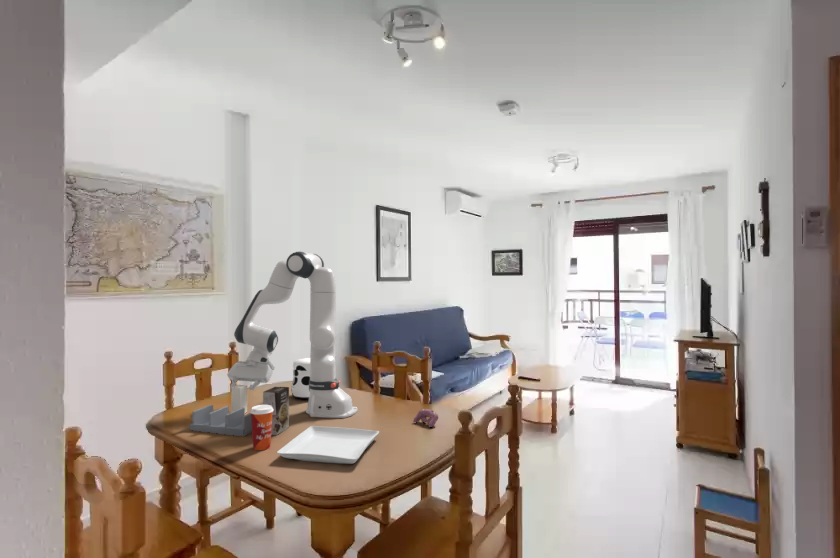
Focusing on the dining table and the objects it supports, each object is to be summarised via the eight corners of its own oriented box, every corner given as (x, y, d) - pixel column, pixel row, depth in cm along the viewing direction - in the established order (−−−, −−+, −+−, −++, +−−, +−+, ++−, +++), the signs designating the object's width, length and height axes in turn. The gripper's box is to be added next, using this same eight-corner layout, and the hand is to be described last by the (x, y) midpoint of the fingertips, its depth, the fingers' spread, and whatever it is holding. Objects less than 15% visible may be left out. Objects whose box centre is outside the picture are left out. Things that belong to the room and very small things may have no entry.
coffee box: (277, 435, 165) (277, 392, 165) (262, 434, 166) (262, 391, 166) (289, 427, 174) (289, 386, 174) (274, 426, 175) (274, 385, 175)
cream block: (247, 412, 192) (247, 385, 192) (240, 416, 188) (240, 387, 188) (238, 412, 193) (238, 384, 193) (231, 415, 189) (231, 387, 189)
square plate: (356, 470, 136) (357, 458, 136) (274, 463, 141) (274, 451, 141) (380, 439, 162) (380, 428, 162) (310, 434, 167) (310, 424, 167)
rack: (262, 426, 175) (262, 408, 175) (243, 436, 163) (243, 417, 163) (212, 420, 181) (212, 403, 181) (189, 430, 170) (189, 412, 170)
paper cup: (259, 453, 148) (260, 411, 148) (245, 448, 152) (245, 408, 152) (278, 446, 154) (278, 406, 154) (264, 441, 158) (264, 402, 158)
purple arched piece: (436, 430, 176) (441, 413, 178) (429, 427, 173) (435, 410, 175) (418, 424, 183) (423, 408, 185) (411, 422, 180) (416, 405, 182)
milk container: (334, 395, 223) (334, 359, 223) (309, 403, 208) (309, 365, 208) (309, 390, 231) (309, 356, 231) (283, 398, 217) (283, 361, 217)
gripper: (233, 356, 203) (218, 382, 193) (272, 359, 197) (258, 386, 188) (239, 364, 207) (225, 390, 197) (278, 367, 201) (264, 394, 192)
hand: (241, 388), depth 192 cm, fingers open, 8 cm apart
